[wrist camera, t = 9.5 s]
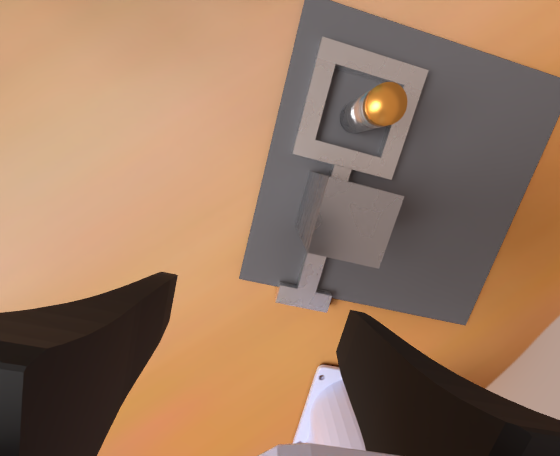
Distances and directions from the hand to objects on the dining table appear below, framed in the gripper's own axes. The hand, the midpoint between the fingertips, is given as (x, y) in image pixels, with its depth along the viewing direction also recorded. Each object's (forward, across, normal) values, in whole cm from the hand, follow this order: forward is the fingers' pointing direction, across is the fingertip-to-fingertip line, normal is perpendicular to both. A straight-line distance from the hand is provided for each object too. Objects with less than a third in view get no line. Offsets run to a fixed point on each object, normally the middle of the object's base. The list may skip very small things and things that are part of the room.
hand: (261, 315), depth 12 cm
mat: (+10, -8, -6) cm, 15 cm away
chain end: (+10, -4, -4) cm, 11 cm away
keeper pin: (+10, -4, -10) cm, 14 cm away
